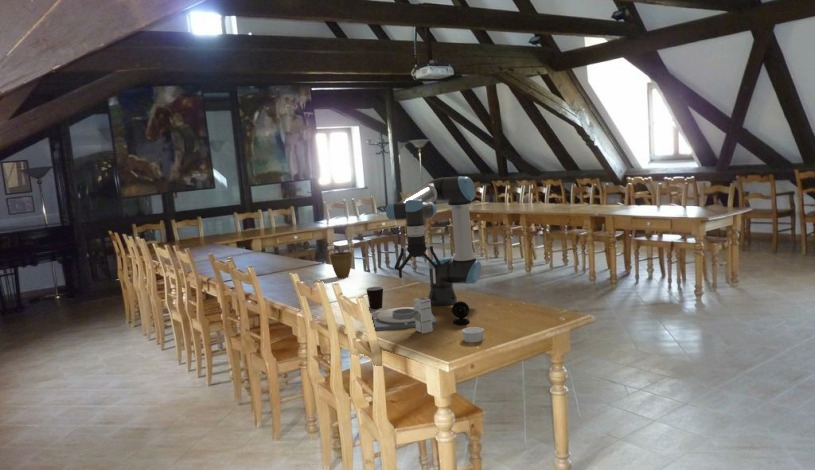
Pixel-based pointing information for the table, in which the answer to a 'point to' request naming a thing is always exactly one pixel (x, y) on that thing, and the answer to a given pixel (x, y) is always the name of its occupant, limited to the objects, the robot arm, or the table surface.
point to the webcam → (460, 313)
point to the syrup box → (423, 315)
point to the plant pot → (341, 263)
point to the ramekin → (473, 334)
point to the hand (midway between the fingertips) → (418, 284)
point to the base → (384, 326)
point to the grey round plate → (397, 315)
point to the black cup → (375, 297)
